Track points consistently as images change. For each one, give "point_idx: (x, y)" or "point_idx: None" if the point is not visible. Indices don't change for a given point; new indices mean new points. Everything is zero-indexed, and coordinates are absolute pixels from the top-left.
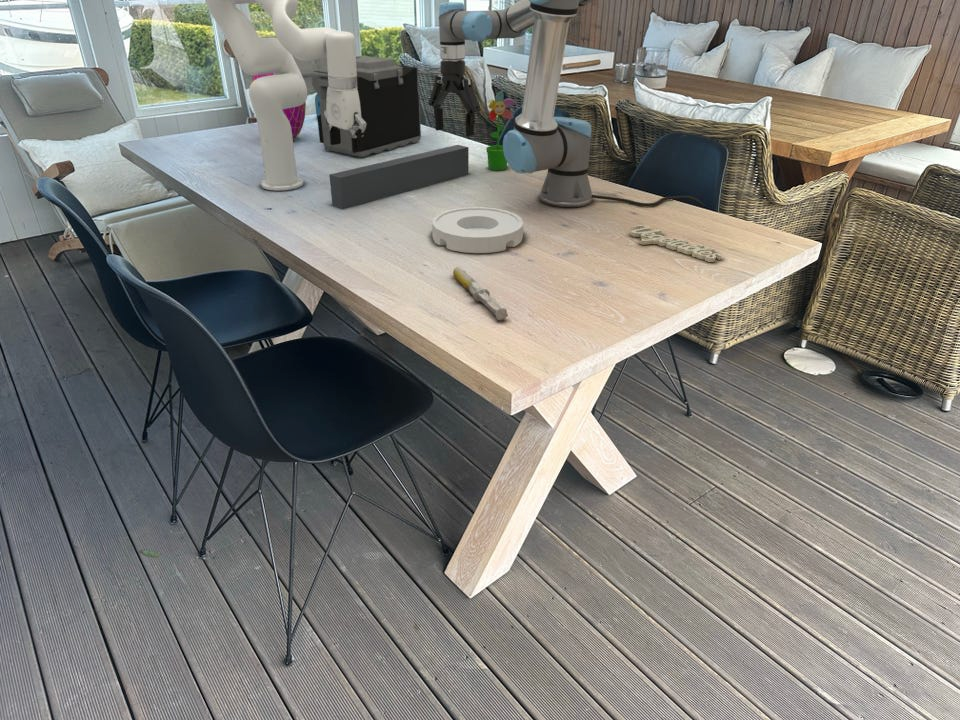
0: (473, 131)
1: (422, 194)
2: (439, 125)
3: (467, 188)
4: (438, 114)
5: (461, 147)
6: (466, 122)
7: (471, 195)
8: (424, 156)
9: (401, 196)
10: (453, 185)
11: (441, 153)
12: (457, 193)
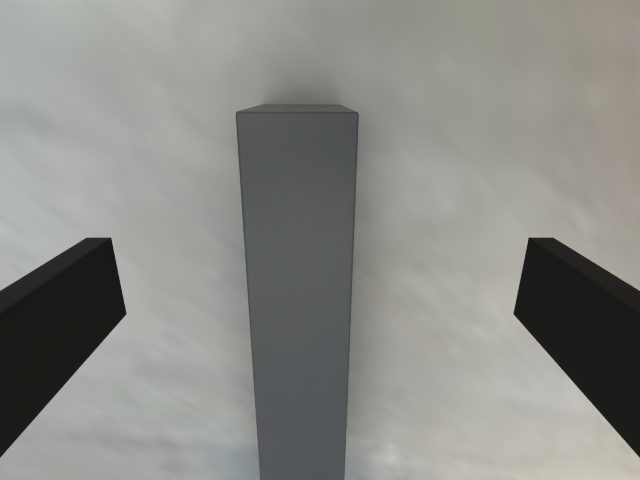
0: (574, 253)
1: (400, 426)
2: (96, 307)
3: (487, 275)
4: (13, 405)
5: (326, 162)
6: (608, 407)
7: None
8: (326, 453)
9: (363, 475)
10: (413, 286)
11: (347, 361)
12: (494, 343)
